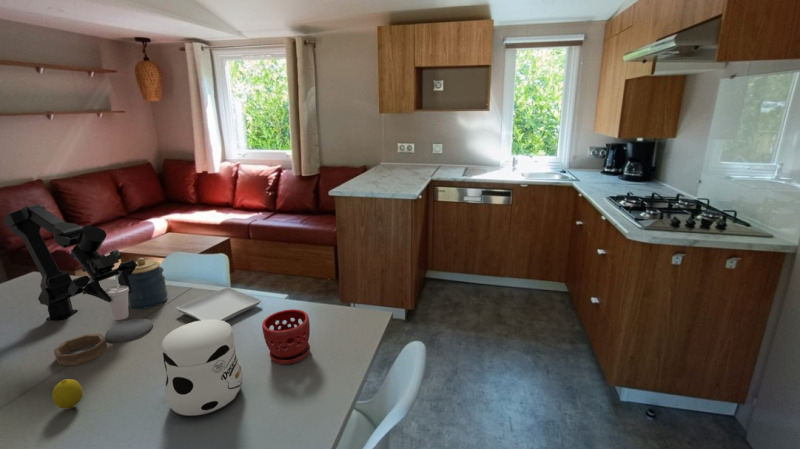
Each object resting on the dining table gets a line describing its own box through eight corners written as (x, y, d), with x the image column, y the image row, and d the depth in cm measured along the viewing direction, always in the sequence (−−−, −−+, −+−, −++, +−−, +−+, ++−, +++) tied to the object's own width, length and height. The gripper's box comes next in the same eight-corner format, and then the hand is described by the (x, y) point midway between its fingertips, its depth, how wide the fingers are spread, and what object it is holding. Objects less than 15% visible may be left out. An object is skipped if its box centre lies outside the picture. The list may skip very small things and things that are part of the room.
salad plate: (264, 307, 149) (263, 298, 148) (211, 333, 131) (210, 323, 130) (228, 294, 160) (227, 286, 159) (175, 316, 142) (174, 307, 141)
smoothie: (127, 321, 126) (120, 279, 123) (105, 322, 125) (97, 280, 122) (136, 311, 133) (130, 272, 129) (115, 313, 131) (108, 273, 128)
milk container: (256, 397, 101) (248, 334, 96) (183, 435, 89) (170, 366, 85) (227, 368, 113) (219, 310, 108) (159, 398, 101) (146, 335, 96)
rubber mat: (120, 322, 138) (120, 319, 138) (160, 320, 139) (159, 317, 138) (96, 343, 125) (95, 340, 125) (139, 341, 126) (139, 338, 126)
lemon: (67, 400, 100) (59, 373, 98) (90, 399, 101) (83, 372, 99) (50, 417, 95) (42, 388, 93) (75, 415, 96) (67, 387, 93)
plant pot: (296, 338, 128) (294, 304, 124) (320, 355, 119) (317, 319, 115) (258, 355, 119) (253, 318, 116) (279, 375, 110) (276, 336, 107)
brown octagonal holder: (75, 343, 125) (73, 335, 124) (114, 341, 126) (112, 333, 125) (47, 366, 114) (44, 357, 113) (90, 364, 115) (87, 355, 114)
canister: (155, 309, 146) (147, 264, 142) (120, 309, 147) (110, 264, 142) (175, 293, 159) (168, 252, 154) (143, 293, 159) (134, 252, 154)
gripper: (65, 254, 116) (98, 296, 115) (128, 236, 132) (157, 272, 132) (54, 275, 121) (86, 315, 120) (116, 255, 137) (144, 290, 136)
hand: (120, 297), depth 127 cm, fingers closed on smoothie, 6 cm apart
